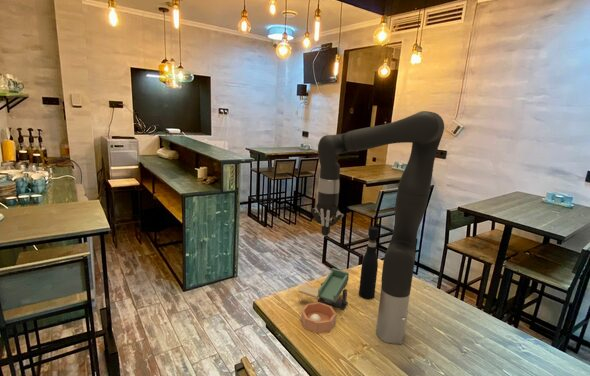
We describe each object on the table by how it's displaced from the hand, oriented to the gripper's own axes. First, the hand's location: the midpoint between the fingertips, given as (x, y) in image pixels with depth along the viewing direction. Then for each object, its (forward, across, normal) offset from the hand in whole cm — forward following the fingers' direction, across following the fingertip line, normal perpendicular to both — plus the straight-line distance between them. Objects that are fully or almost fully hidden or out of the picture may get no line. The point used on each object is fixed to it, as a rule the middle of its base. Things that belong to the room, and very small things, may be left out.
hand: (325, 235), depth 119 cm
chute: (+25, 0, -3) cm, 25 cm away
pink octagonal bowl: (+29, -4, +11) cm, 31 cm away
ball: (+26, -4, +14) cm, 30 cm away
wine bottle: (+29, -14, -16) cm, 36 cm away
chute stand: (+29, -4, -3) cm, 29 cm away
